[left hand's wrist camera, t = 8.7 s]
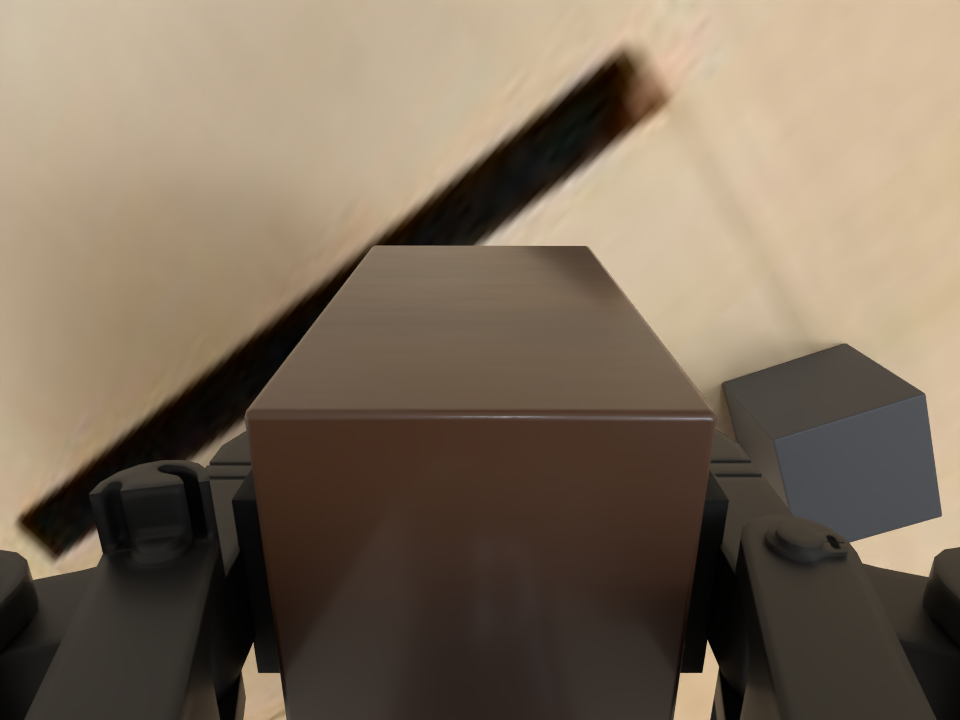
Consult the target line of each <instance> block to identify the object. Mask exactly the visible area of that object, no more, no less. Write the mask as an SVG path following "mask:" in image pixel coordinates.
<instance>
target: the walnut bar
mask: <svg viewBox="0 0 960 720" xmlns="http://www.w3.org/2000/svg"><path fill="white" fill-rule="evenodd" d="M716 419H717V417H716V414H715V411H714V410H713V408H712V407H711V406H710V404H709V403H708V402H707V401H706V399H705V398H704V397H703V395H702V394H701V393H700V391H699V390H698V389H697V387H696V386H695V385H694V384H693V382H692V381H691V380H690V378H689V377H688V376H687V374H686V373H685V372H684V371H683V369H682V368H681V367H680V365H679V364H678V363H677V361H676V360H675V359H674V357H673V356H672V355H671V354H670V352H669V351H668V350H667V348H666V347H665V346H664V344H663V343H662V342H661V341H660V339H659V338H658V337H657V335H656V334H655V333H654V331H653V330H652V329H651V327H650V326H649V325H648V324H647V322H646V321H645V320H644V318H643V317H642V316H641V314H640V313H639V312H638V311H637V309H636V308H635V307H634V305H633V304H632V303H631V301H630V300H629V299H628V297H627V296H626V295H625V294H624V292H623V291H622V290H621V288H620V287H619V286H618V284H617V283H616V282H615V281H614V279H613V278H612V277H611V275H610V274H609V273H608V271H607V270H606V269H605V267H604V266H603V265H602V264H601V262H600V261H599V260H598V258H597V257H596V256H595V254H594V253H593V252H592V251H591V249H590V248H589V247H587V246H374V247H372V248H371V250H370V251H369V252H368V253H367V255H366V256H365V257H364V259H363V260H362V261H361V263H360V264H359V265H358V266H357V268H356V269H355V270H354V272H353V273H352V274H351V276H350V277H349V278H348V279H347V281H346V282H345V283H344V285H343V286H342V287H341V289H340V290H339V291H338V292H337V294H336V295H335V296H334V298H333V299H332V300H331V301H330V303H329V304H328V305H327V307H326V308H325V309H324V311H323V312H322V313H321V314H320V316H319V317H318V318H317V320H316V321H315V322H314V324H313V325H312V326H311V327H310V329H309V330H308V331H307V333H306V334H305V335H304V337H303V338H302V339H301V340H300V342H299V343H298V344H297V346H296V347H295V348H294V350H293V351H292V352H291V353H290V355H289V356H288V357H287V359H286V360H285V361H284V363H283V364H282V365H281V366H280V368H279V369H278V370H277V372H276V373H275V374H274V376H273V377H272V378H271V379H270V381H269V382H268V383H267V385H266V386H265V387H264V388H263V390H262V391H261V392H260V394H259V395H258V396H257V398H256V399H255V400H254V401H253V403H252V404H251V405H250V407H249V408H248V409H247V411H246V414H245V422H246V429H247V437H248V444H249V451H250V458H251V465H252V473H253V480H254V487H255V494H256V502H257V509H258V516H259V523H260V530H261V538H262V545H263V552H264V559H265V566H266V574H267V581H268V588H269V595H270V603H271V610H272V617H273V624H274V631H275V639H276V646H277V653H278V660H279V667H280V675H281V682H282V689H283V696H284V704H285V711H286V718H287V720H673V719H674V712H675V705H676V698H677V691H678V684H679V677H680V670H681V663H682V656H683V649H684V642H685V635H686V628H687V621H688V614H689V607H690V600H691V593H692V586H693V579H694V572H695V565H696V558H697V552H698V545H699V538H700V531H701V524H702V517H703V510H704V503H705V496H706V489H707V482H708V475H709V468H710V461H711V454H712V447H713V440H714V433H715V426H716Z"/></svg>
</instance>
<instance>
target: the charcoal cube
mask: <svg viewBox="0 0 960 720" xmlns="http://www.w3.org/2000/svg"><path fill="white" fill-rule="evenodd" d="M723 388H724V392H725V396H726V400H727V404H728V408H729V412H730V415H731V419H732V423H733V427H734V431H735V435H736V439H737V443H738V444H739V445H740V446H741V447H742V449H743V450H744V451H745V453H746V454H747V455H748V456H749V458H750V459H751V463H754V464H755V466H756V467H757V468H758V469H759V471H760V472H761V473H762V477H765V479H766V480H767V481H768V482H769V484H770V485H771V486H772V488H773V489H774V490H775V492H776V493H777V494H778V495H779V497H780V498H781V499H782V501H783V502H784V503H785V505H786V506H787V507H788V508H789V510H790V511H791V512H792V514H793V515H794V516H795V517H799V518H804V519H808V520H811V521H814V522H816V523H818V524H821V525H823V526H826V527H828V528H830V529H832V530H833V531H835V532H836V533H838V534H839V535H840V536H842V537H843V538H845V539H846V540H847V541H848V542H853V541H856V540H860V539H863V538H867V537H870V536H874V535H877V534H881V533H885V532H888V531H892V530H895V529H899V528H902V527H906V526H909V525H913V524H916V523H920V522H923V521H927V520H930V519H934V518H937V517H941V516H942V512H941V505H940V497H939V490H938V483H937V476H936V468H935V461H934V454H933V447H932V439H931V432H930V425H929V418H928V410H927V403H926V396H925V393H923V392H922V391H920V390H919V389H917V388H915V387H914V386H912V385H911V384H909V383H908V382H906V381H904V380H903V379H901V378H900V377H898V376H897V375H895V374H893V373H892V372H890V371H889V370H887V369H886V368H884V367H882V366H881V365H879V364H878V363H876V362H875V361H873V360H871V359H870V358H868V357H867V356H865V355H864V354H862V353H860V352H859V351H857V350H856V349H854V348H853V347H851V346H849V345H848V344H843V345H839V346H836V347H833V348H830V349H827V350H824V351H821V352H818V353H815V354H811V355H808V356H805V357H802V358H799V359H796V360H793V361H790V362H786V363H783V364H780V365H777V366H774V367H771V368H768V369H765V370H762V371H758V372H755V373H752V374H749V375H746V376H743V377H740V378H737V379H734V380H730V381H727V382H724V383H723Z"/></svg>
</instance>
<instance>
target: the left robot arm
mask: <svg viewBox="0 0 960 720" xmlns="http://www.w3.org/2000/svg"><path fill="white" fill-rule="evenodd" d="M89 497H90V501H91V506H92V510H93V514H94V518H95V522H96V526H97V530H98V534H99V539H100V543H101V547H102V551H103V555H102V557H101V559H100V561H99V563H98V565H97V567H94V568H90V569H86V570H82V571H77V572H72V573H67V574H62V575H57V576H52V577H47V578H41V579H36V580H33V579H32V576H31V572H30V569H29V566H28V562H27V560H26V559H25V558H23V557H22V556H21V555H20V554H18V553H17V552H10V551H4V550H0V720H243V717H244V708H245V700H246V697H245V690H244V683H243V677H242V671H241V670H242V667H243V665H244V663H245V660H246V658H247V656H248V653H249V651H250V649H251V646H252V644H253V642H254V649H255V655H256V662H257V668H258V673H280V667H279V660H278V653H277V646H276V639H275V631H274V624H273V617H272V610H271V603H270V595H269V588H268V581H267V574H266V566H265V559H264V552H263V545H262V538H261V530H260V523H259V516H258V509H257V502H256V494H255V487H254V480H253V473H252V465H251V458H250V451H249V444H248V437H247V432H244V433H242V434H240V435H239V436H237V437H236V438H234V439H232V440H231V441H229V442H228V443H226V444H224V445H223V446H222V447H221V448H220V449H219V451H218V452H217V453H216V455H215V456H214V457H213V459H212V460H211V461H210V466H207V467H206V468H204V467H202V466H201V465H200V464H198V463H193V462H189V461H184V460H161V461H156V462H151V463H145V464H140V465H137V466H134V467H131V468H129V469H126V470H123V471H120V472H117V473H116V474H114V475H112V476H111V477H109V478H107V479H105V480H104V481H102V482H100V483H99V484H98V485H97V486H96V487H95V488H94V489H93V490H92V492H91V493H90V494H89ZM707 639H708V642H709V644H710V646H711V649H712V651H713V653H714V656H715V658H716V660H717V663H718V665H719V671H718V677H717V683H716V689H715V695H714V701H713V707H712V713H711V719H710V720H960V547H958V548H952V549H945V550H943V551H942V552H941V553H939V554H938V555H937V556H936V557H935V558H934V561H933V564H932V568H931V571H930V575H929V577H924V576H919V575H914V574H909V573H904V572H898V571H893V570H888V569H883V568H878V567H874V566H871V565H867V564H863V563H862V562H861V560H860V558H859V556H858V554H857V552H856V551H855V550H854V548H853V547H852V546H851V545H850V543H849V542H848V541H847V540H846V539H845V538H843V537H842V536H840V535H839V534H838V533H836V532H835V531H833V530H832V529H830V528H828V527H826V526H823V525H821V524H818V523H816V522H814V521H811V520H808V519H804V518H799V517H795V516H794V515H793V514H792V512H791V511H790V510H789V508H788V507H787V506H786V505H785V503H784V502H783V501H782V499H781V498H780V497H779V495H778V494H777V493H776V492H775V490H774V489H773V488H772V486H771V485H770V484H769V482H768V481H767V480H766V479H765V477H762V473H761V472H760V471H759V469H758V468H757V467H756V466H755V464H754V463H751V459H750V458H749V456H748V455H747V454H746V453H745V451H744V450H743V449H742V447H741V446H740V445H739V444H738V443H737V442H735V441H734V440H732V439H730V438H729V437H727V436H726V435H724V434H722V433H721V432H719V431H717V430H716V429H715V433H714V440H713V447H712V454H711V461H710V468H709V475H708V482H707V489H706V496H705V503H704V510H703V517H702V524H701V531H700V538H699V545H698V552H697V558H696V565H695V572H694V579H693V586H692V593H691V600H690V607H689V614H688V621H687V628H686V635H685V642H684V649H683V656H682V663H681V670H680V673H702V671H703V665H704V658H705V652H706V645H707Z"/></svg>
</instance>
